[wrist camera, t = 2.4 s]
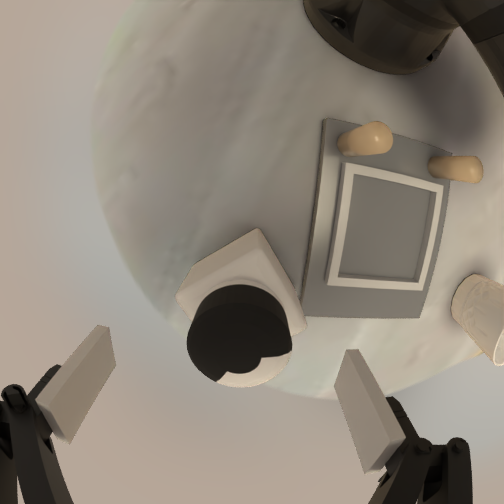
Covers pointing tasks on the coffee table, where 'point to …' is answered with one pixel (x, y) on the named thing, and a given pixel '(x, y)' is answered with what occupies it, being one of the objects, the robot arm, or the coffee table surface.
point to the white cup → (482, 314)
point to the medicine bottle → (240, 313)
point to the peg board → (377, 221)
